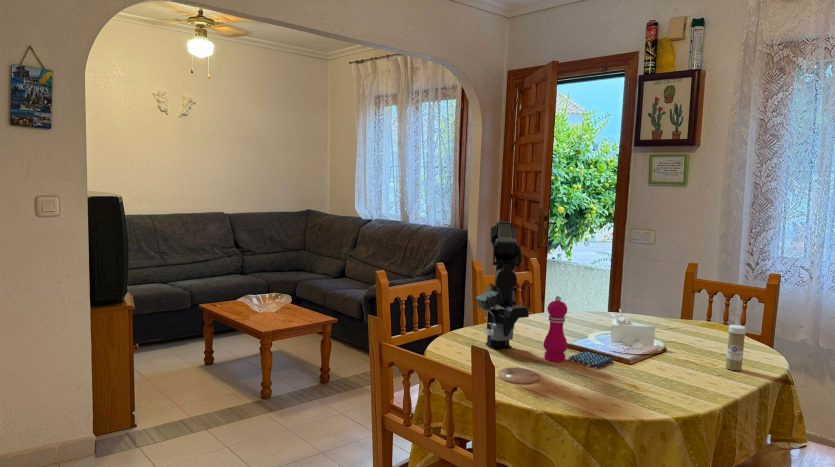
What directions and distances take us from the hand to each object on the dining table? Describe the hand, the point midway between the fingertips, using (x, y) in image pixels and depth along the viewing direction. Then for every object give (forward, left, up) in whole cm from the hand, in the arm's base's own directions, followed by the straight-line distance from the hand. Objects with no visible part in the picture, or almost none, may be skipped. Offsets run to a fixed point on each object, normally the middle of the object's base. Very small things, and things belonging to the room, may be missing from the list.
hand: (502, 334), depth 178 cm
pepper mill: (-19, +1, -10) cm, 21 cm away
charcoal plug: (0, 0, -1) cm, 1 cm away
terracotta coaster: (+1, +11, -9) cm, 14 cm away
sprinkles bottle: (-66, +27, -10) cm, 72 cm away
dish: (-53, -5, -10) cm, 54 cm away
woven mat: (-28, +7, -10) cm, 31 cm away
